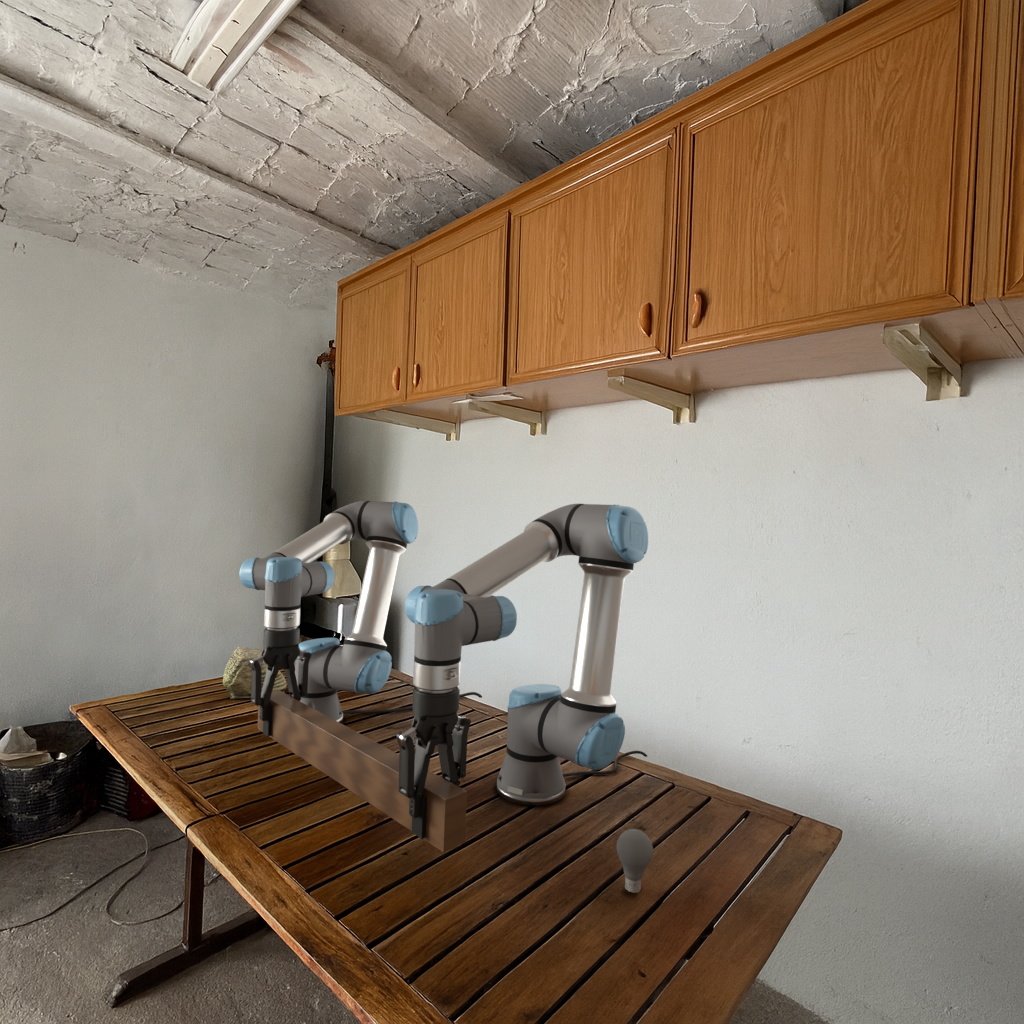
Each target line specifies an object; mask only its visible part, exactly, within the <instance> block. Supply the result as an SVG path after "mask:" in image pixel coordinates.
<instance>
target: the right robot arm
mask: <svg viewBox="0 0 1024 1024" xmlns="http://www.w3.org/2000/svg"><path fill="white" fill-rule="evenodd" d="M648 546H649V532H648V527H647V523H646V521H645V519H644V517H643V515H642V514H641V512H640V511H639V510H637V509H636V508H634V507H631V506H628V505H620V504H600V503H599V504H594V503H571V504H566V505H563V506H560V507H558V508H556V509H554V510H551V511H548V512H547V513H545V514H543V515H541V516H539V517H537V518H536V519H534V520H532V521H531V522H529V523H527V524H526V525H525V527H524V529H523V532H521V533H520V534H518V535H516V536H515V537H513V538H511V539H510V540H508V541H506V542H505V543H503V544H501V545H500V546H498V547H497V548H495V549H493V550H492V551H490V552H489V553H487V554H485V555H483V556H482V557H481V558H479V559H477V560H476V561H474V562H472V563H471V564H468V565H467V566H466V567H464V568H462V569H460V570H459V571H457V572H456V573H454V574H452V575H450V576H449V577H446V579H444V580H442V581H440V582H439V583H437V584H436V585H434V586H432V585H418V586H416V587H413V589H411V591H409V592H408V594H407V596H406V599H405V603H404V610H405V614H406V617H407V619H408V620H409V621H410V622H411V623H413V624H414V647H413V648H414V652H413V658H414V659H413V670H412V673H413V674H412V684H413V686H414V687H413V688H412V703H411V704H412V705H411V706H412V709H411V710H412V712H413V719H412V722H411V726H410V728H409V729H407V730H406V731H404V732H402V731H399V732H397V734H396V740H397V744H398V748H399V749H398V751H399V753H398V754H399V789H398V790H399V792H400V793H401V794H403V795H404V796H406V797H408V798H409V814H410V815H411V816H412V831H411V834H413V835H415V836H416V837H418V838H419V839H421V840H424V839H423V838H426V811H427V797H426V796H425V795H423V792H424V787H425V782H426V777H427V772H428V770H429V767H430V762H431V758H432V755H433V754H434V753H435V749H436V747H437V752H438V758H439V765H440V770H441V777H442V778H443V779H445V780H447V781H449V782H451V783H453V784H455V785H456V786H458V787H460V785H461V781H460V779H464V778H466V775H467V755H468V735H469V734H468V733H469V730H470V727H471V724H472V720H471V719H470V718H468V717H466V716H464V715H461V714H458V711H459V709H460V697H459V696H460V694H461V693H460V691H461V690H460V688H459V687H458V686H460V684H461V663H462V648H463V647H464V646H465V647H466V646H469V645H476V644H481V643H486V642H496V641H498V640H500V639H504V638H507V637H509V636H511V635H512V634H513V633H514V630H515V629H516V627H517V621H518V618H517V617H518V613H517V610H516V609H517V608H516V606H515V604H514V603H513V602H512V600H511V599H510V598H508V597H506V596H504V595H495V594H496V593H498V592H499V591H501V590H502V589H504V588H506V587H507V586H508V585H510V584H511V583H512V582H514V581H516V580H517V579H518V578H520V577H521V576H523V575H524V574H526V573H527V572H529V571H531V570H532V569H534V568H535V567H537V566H538V565H540V564H541V563H542V562H543V563H550V562H552V561H554V560H555V559H557V558H560V557H563V556H564V557H565V556H576V557H578V564H577V565H578V566H579V567H580V569H581V570H582V572H583V580H582V586H581V587H582V588H581V593H580V594H581V595H580V600H579V601H580V602H579V609H578V616H577V617H578V618H577V626H576V633H575V639H574V647H573V655H572V664H571V670H570V678H569V685H568V687H567V688H565V689H564V690H563V691H562V689H561V687H560V686H558V685H556V684H549V683H548V684H547V683H535V684H534V683H533V684H525V685H521V686H517V687H515V688H513V689H512V690H511V691H510V693H509V697H508V704H507V725H506V752H505V757H504V759H503V762H502V765H501V767H500V770H499V773H498V775H497V779H496V791H497V793H498V795H500V796H501V797H502V798H503V799H505V800H506V801H509V802H511V803H513V804H518V805H522V806H530V807H539V806H547V805H552V804H555V803H557V802H559V801H560V800H562V799H563V798H564V797H565V794H566V781H565V778H566V777H573V776H581V775H608V774H612V773H614V772H616V771H617V770H618V768H619V767H618V766H619V765H618V761H619V760H620V759H622V758H625V757H628V756H630V755H635V754H636V755H637V754H638V755H642V756H643V757H645V758H647V757H648V754H647V753H646V752H644V751H642V750H631V751H627V752H625V753H623V754H622V753H621V754H620V755H618V754H619V753H620V751H621V749H622V747H623V743H624V741H625V740H624V739H625V734H626V726H625V723H624V719H623V718H622V717H621V716H620V715H619V714H617V713H616V709H617V701H616V699H615V698H614V696H613V695H612V694H611V691H612V690H611V689H612V683H613V676H614V675H613V674H614V669H615V668H614V667H615V659H616V650H617V643H618V635H619V627H620V620H621V619H620V618H621V612H622V604H623V603H622V602H623V595H624V588H625V580H626V578H627V577H629V576H630V575H631V574H633V572H634V567H635V566H634V565H635V564H637V563H640V562H641V561H643V559H644V558H645V555H646V554H647V551H648ZM415 738H416V739H415ZM560 758H562V759H564V760H567V761H569V762H570V763H574V764H575V765H577V766H578V767H581V768H587V769H590V770H584V771H583V770H582V771H572V772H565V773H563V769H562V766H561V762H560ZM612 762H614V767H613V768H611V769H609V770H603V769H605V768H607V767H608V766H610V765H611V764H612ZM592 770H593V771H592ZM600 770H601V771H600Z"/></svg>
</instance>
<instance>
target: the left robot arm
mask: <svg viewBox="0 0 1024 1024" xmlns="http://www.w3.org/2000/svg"><path fill="white" fill-rule="evenodd" d="M418 521H419V520H418V517H417V512H416V510H415V509H414V507H412V505H411V504H409V503H406V502H400V501H399V502H398V501H379V500H377V501H376V500H358V501H355V502H351V503H348V504H346V505H344V506H341V507H339V508H338V509H335V510H334V511H332V512H330V513H328V514H327V515H325V517H324V518H323V521H322V522H320V523H319V524H318V525H316V526H313V528H311V529H309V530H308V531H306V532H304V533H303V534H300V535H299V536H297V537H296V538H295V539H293V540H291V541H289V542H288V543H286V544H284V545H282V546H281V547H280V548H278V549H276V550H275V551H273V552H272V553H270V554H268V555H266V556H265V557H261V558H260V557H249V558H247V559H245V560H244V561H243V562H242V564H241V566H240V568H239V574H238V575H239V581H240V583H241V585H243V587H244V588H247V589H252V590H256V591H265V592H264V599H265V600H264V611H263V612H264V613H263V614H264V615H263V617H264V618H263V627H265V628H264V629H263V641H262V642H263V643H262V644H263V645H262V646H263V648H262V649H263V652H262V654H261V656H259V657H257V658H256V659H250V660H249V664H250V667H251V669H252V671H251V698H250V702H251V704H253V705H255V706H256V707H258V705H259V706H260V720H262V721H263V732H262V733H263V735H265V736H266V737H269V736H271V734H272V706H271V705H270V704H269V702H270V698H271V694H272V690H273V686H274V682H275V678H276V676H277V674H278V671H279V670H280V671H281V670H284V673H285V680H286V685H287V689H288V693H289V694H288V695H289V696H291V697H293V698H295V699H296V700H298V701H300V702H302V703H304V704H306V705H308V706H309V707H311V708H313V709H315V710H317V711H319V712H321V713H322V714H324V715H326V716H328V717H330V718H332V719H334V720H335V721H337V722H339V723H341V724H343V722H344V715H355V714H357V715H358V714H360V715H362V714H363V715H364V714H367V715H368V714H387V713H397V712H403V711H404V712H405V711H410V710H413V709H412V705H410V706H404V707H398V708H389V709H371V710H370V709H367V710H366V709H362V710H361V709H359V710H358V709H356V710H352V709H351V710H343V709H342V706H341V702H340V699H339V695H338V691H344V692H351V693H356V694H359V695H362V694H366V695H373V694H376V693H378V692H379V691H381V690H382V689H383V687H384V686H385V685H386V683H387V682H388V680H389V677H390V674H391V671H392V665H393V662H392V659H393V658H392V655H391V654H390V652H388V651H387V647H388V644H387V643H386V641H385V640H384V635H385V629H386V625H387V620H388V615H389V610H390V606H391V600H392V596H393V595H392V594H393V591H394V586H395V585H394V584H395V580H396V575H397V571H398V565H399V560H400V556H401V555H403V554H404V553H405V552H406V551H407V546H408V545H410V544H413V543H414V542H415V541H416V539H417V537H418V533H419V522H418ZM356 540H357V541H358V540H359V541H365V545H366V546H367V548H368V550H369V551H368V552H369V553H368V557H367V559H366V566H365V569H364V575H363V578H362V579H363V580H362V582H361V583H362V584H361V589H360V592H359V598H358V602H357V607H356V612H355V616H354V621H353V625H352V630H351V634H349V635H348V636H346V637H345V638H344V641H343V645H340V644H341V641H340V639H339V638H337V637H321V638H313V639H307V640H304V641H302V642H300V638H301V637H300V636H301V635H300V634H301V633H300V632H301V630H300V629H301V628H300V627H299V626H300V624H301V600H302V598H303V597H309V596H314V595H320V594H322V593H325V592H327V591H329V590H330V589H332V588H333V586H334V585H335V581H336V572H335V569H334V568H333V567H332V565H331V564H330V563H328V562H325V561H316V560H317V559H319V558H321V557H322V556H323V555H325V554H326V553H328V552H329V551H330V550H332V549H333V548H335V547H336V546H338V545H345V544H347V543H349V542H350V541H356ZM263 661H264V662H265V663H266V664H267V668H266V676H265V680H264V684H263V688H262V692H261V676H262V672H261V667H262V663H263ZM468 696H469V697H470V696H476V697H478V698H479V699H480V698H481V699H482V698H483V695H482V694H481V693H478V692H476V691H470V692H464V693H460V696H459V698H464V697H468Z"/></svg>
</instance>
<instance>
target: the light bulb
mask: <svg viewBox="0 0 1024 1024" xmlns="http://www.w3.org/2000/svg"><path fill="white" fill-rule="evenodd" d="M615 849H616V854H617V857H618V859H619V861H620V863H621V865H622V867H623V873H624V874H623V875H624V876H625V878H624V888H625V890H627V891H628V892H630V893H634V894H635V893H639V892H640V891H641V889H642V887H641V886H642V879H643V877H644V875H645V871H646V868H647V867H648V866H649V864H650V863H651V861H652V859H653V855H654V847H653V843H652V841H651V838H649V836H648V835H647V834H646V833H645V832H643V831H642V830H641V829H636V828H629V829H627V830H625V831H623V832H622V833H621V834H620V835H619V837H618V839H617V841H616V847H615Z"/></svg>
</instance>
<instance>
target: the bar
mask: <svg viewBox="0 0 1024 1024" xmlns="http://www.w3.org/2000/svg"><path fill="white" fill-rule="evenodd" d="M269 704H270V705H271V706H272V734H271V736H268V737H269V738H271V739H272V740H274V741H275V742H277V743H278V744H279V745H281V746H283V747H284V748H286V749H287V750H289V751H290V752H292V753H293V754H294V755H296V756H298V757H299V758H300V759H302V760H304V761H305V762H306V763H308V764H309V765H311V766H313V767H314V768H316V769H317V770H319V771H320V772H322V773H323V774H325V775H326V776H328V777H329V778H331V779H332V780H334V781H335V782H337V783H338V784H340V785H341V786H342V787H344V788H346V789H347V790H349V791H350V792H352V793H353V794H354V795H356V796H358V797H359V798H361V799H362V800H363V801H365V802H367V803H369V804H370V805H371V806H372V807H375V808H376V809H377V810H379V811H380V812H382V813H383V814H384V815H386V816H387V817H389V818H391V819H392V820H393V821H395V822H396V823H398V824H399V825H401V826H403V827H404V828H405V829H407V830H409V831H410V832H412V816H411V815H410V814H409V798H408V797H406V796H404V795H403V794H401V793H400V792H399V790H398V789H399V753H397V752H396V751H393V750H391V749H390V748H387V747H386V746H384V745H382V744H380V743H378V742H376V741H374V740H373V739H371V738H369V737H367V736H366V735H363V733H362V734H361V733H360V732H358V731H356V730H355V729H352V728H351V727H348V725H347V726H346V725H345V724H343V723H339V722H337V721H335V720H334V719H332V718H330V717H328V716H326V715H324V714H322V713H321V712H319V711H317V710H315V709H313V708H311V707H309V706H308V705H306V704H304V703H302V702H300V701H298V700H296V699H295V698H293V697H291V696H290V694H287V693H285V692H281V691H280V690H278V689H276V690H272V694H271V698H270V702H269ZM257 730H259V731H260V732H262V733H263V721H262V720H260V706H259V705H258V706H257ZM423 795H425V796H426V797H427V811H426V838H423V839H422V840H424V841H425V842H427V843H428V844H429V845H431V846H433V847H434V848H435V849H437V850H439V851H440V852H442V853H446V852H447V851H450V850H452V849H454V848H456V847H458V846H460V845H463V844H465V843H466V828H467V827H466V826H467V804H468V803H467V802H468V791H467V789H464V788H462V787H461V786H456V785H455V784H453V783H451V782H449V781H447V780H445V779H443V778H442V776H440V775H438V774H436V773H434V772H432V771H430V770H429V769H428V772H427V777H426V782H425V787H424V792H423Z"/></svg>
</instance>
